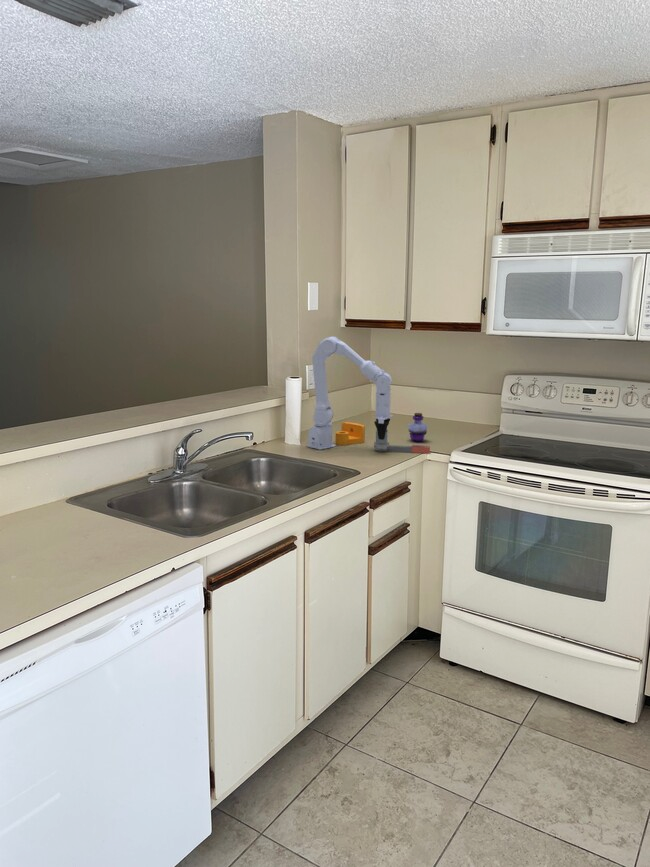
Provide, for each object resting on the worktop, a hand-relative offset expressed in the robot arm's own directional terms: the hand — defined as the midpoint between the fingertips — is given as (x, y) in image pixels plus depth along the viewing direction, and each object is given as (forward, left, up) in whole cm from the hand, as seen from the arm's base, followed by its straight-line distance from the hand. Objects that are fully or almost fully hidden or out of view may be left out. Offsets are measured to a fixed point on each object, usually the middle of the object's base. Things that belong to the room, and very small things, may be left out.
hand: (381, 437), depth 264 cm
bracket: (+6, +20, -1) cm, 20 cm away
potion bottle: (+24, +1, -5) cm, 25 cm away
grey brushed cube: (0, 0, -2) cm, 2 cm away
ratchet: (+5, -6, -5) cm, 9 cm away
